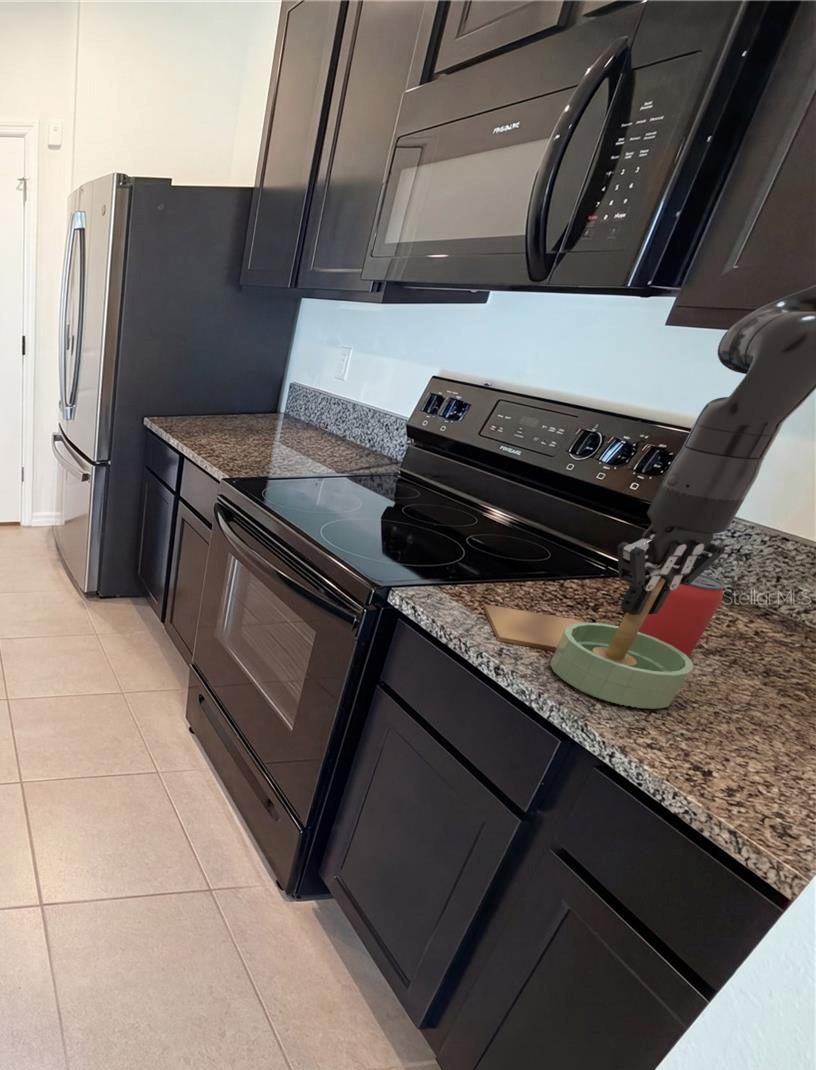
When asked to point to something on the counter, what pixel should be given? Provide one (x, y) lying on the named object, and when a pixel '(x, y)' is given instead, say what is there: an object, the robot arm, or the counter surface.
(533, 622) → the plate
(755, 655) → the counter surface
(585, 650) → the bowl
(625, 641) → the muddler
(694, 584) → the beer can
